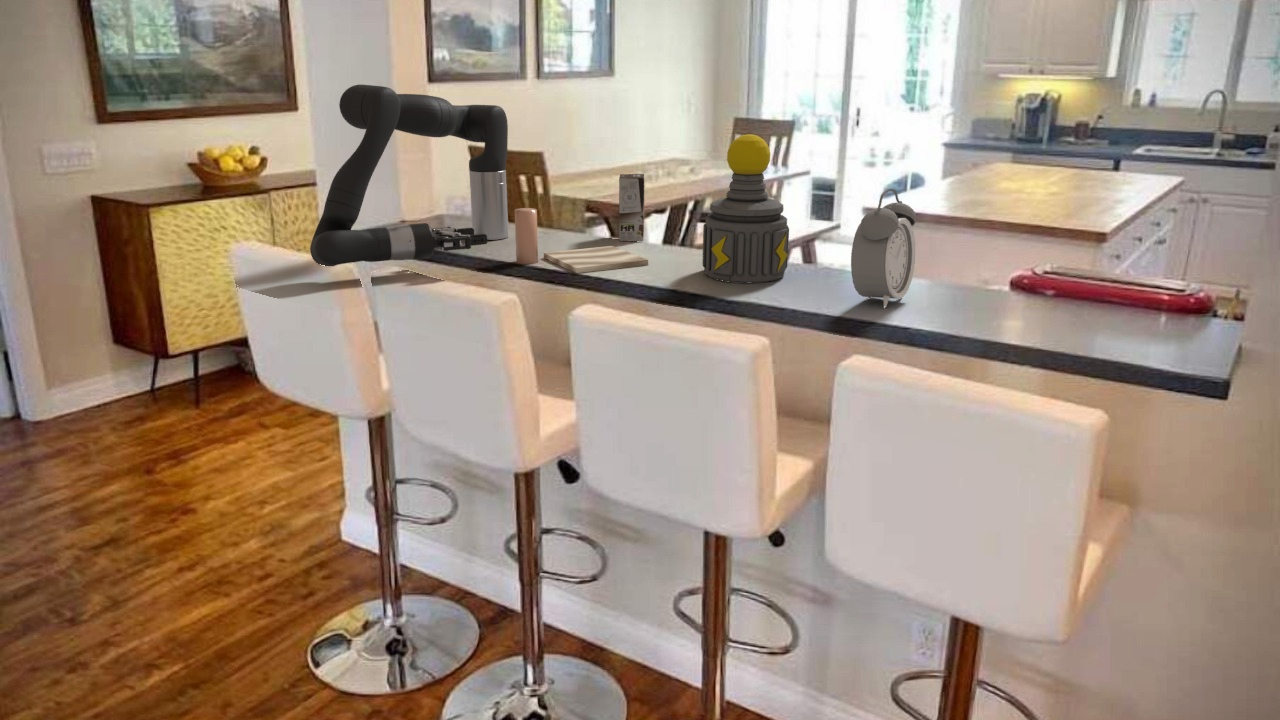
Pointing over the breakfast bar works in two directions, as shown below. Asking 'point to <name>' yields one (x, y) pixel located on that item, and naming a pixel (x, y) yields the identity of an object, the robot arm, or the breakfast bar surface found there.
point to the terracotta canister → (526, 235)
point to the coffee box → (631, 207)
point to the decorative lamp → (746, 221)
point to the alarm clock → (884, 251)
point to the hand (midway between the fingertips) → (479, 235)
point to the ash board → (595, 259)
